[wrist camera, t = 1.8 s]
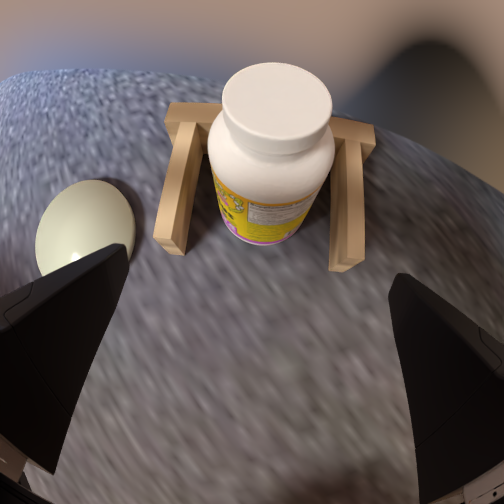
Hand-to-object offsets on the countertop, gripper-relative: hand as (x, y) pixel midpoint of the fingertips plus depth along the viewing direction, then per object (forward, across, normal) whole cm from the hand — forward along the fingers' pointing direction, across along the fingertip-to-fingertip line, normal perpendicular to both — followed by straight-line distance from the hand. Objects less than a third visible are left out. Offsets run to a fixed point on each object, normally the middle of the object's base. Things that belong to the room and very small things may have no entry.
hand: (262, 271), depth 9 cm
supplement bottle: (+14, 0, +4) cm, 15 cm away
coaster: (+12, +15, +7) cm, 20 cm away
